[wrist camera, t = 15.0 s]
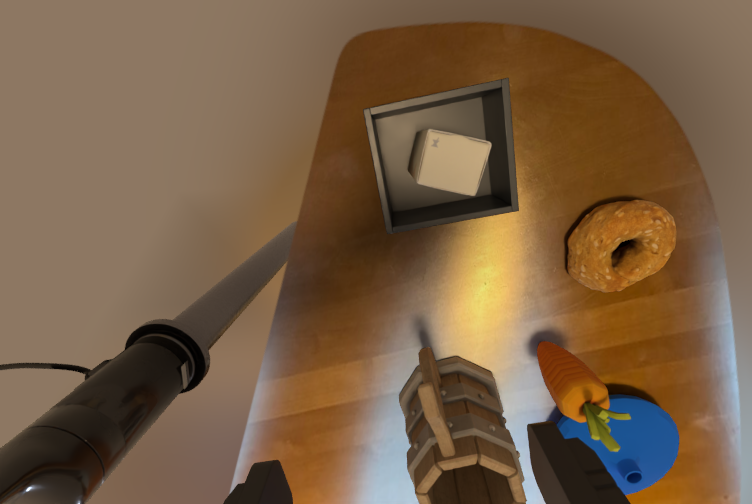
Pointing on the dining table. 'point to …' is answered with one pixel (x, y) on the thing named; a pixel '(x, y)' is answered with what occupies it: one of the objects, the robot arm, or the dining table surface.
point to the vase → (632, 442)
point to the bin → (453, 115)
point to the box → (448, 161)
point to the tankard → (458, 435)
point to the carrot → (578, 392)
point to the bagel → (604, 234)
